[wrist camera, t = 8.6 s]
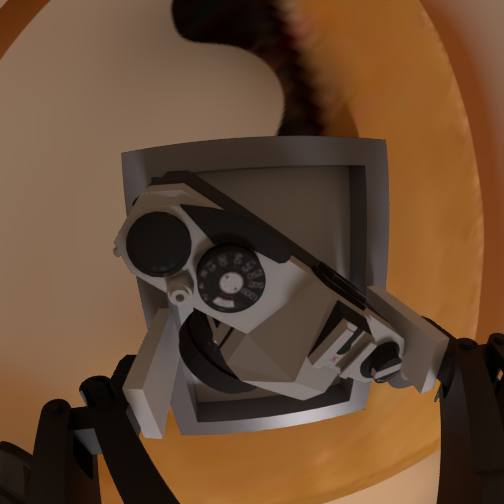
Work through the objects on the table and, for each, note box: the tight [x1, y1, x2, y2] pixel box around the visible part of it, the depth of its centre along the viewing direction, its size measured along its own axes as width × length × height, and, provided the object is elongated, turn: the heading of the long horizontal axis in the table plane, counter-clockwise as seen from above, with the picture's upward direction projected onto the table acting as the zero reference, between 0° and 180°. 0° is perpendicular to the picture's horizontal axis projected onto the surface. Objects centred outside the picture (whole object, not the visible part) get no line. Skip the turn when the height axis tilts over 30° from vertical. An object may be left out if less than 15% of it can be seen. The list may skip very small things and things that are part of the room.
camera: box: [113, 170, 405, 400], centre depth 12 cm, size 13×8×9 cm, turn 58°
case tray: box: [122, 136, 389, 435], centre depth 17 cm, size 14×19×3 cm
